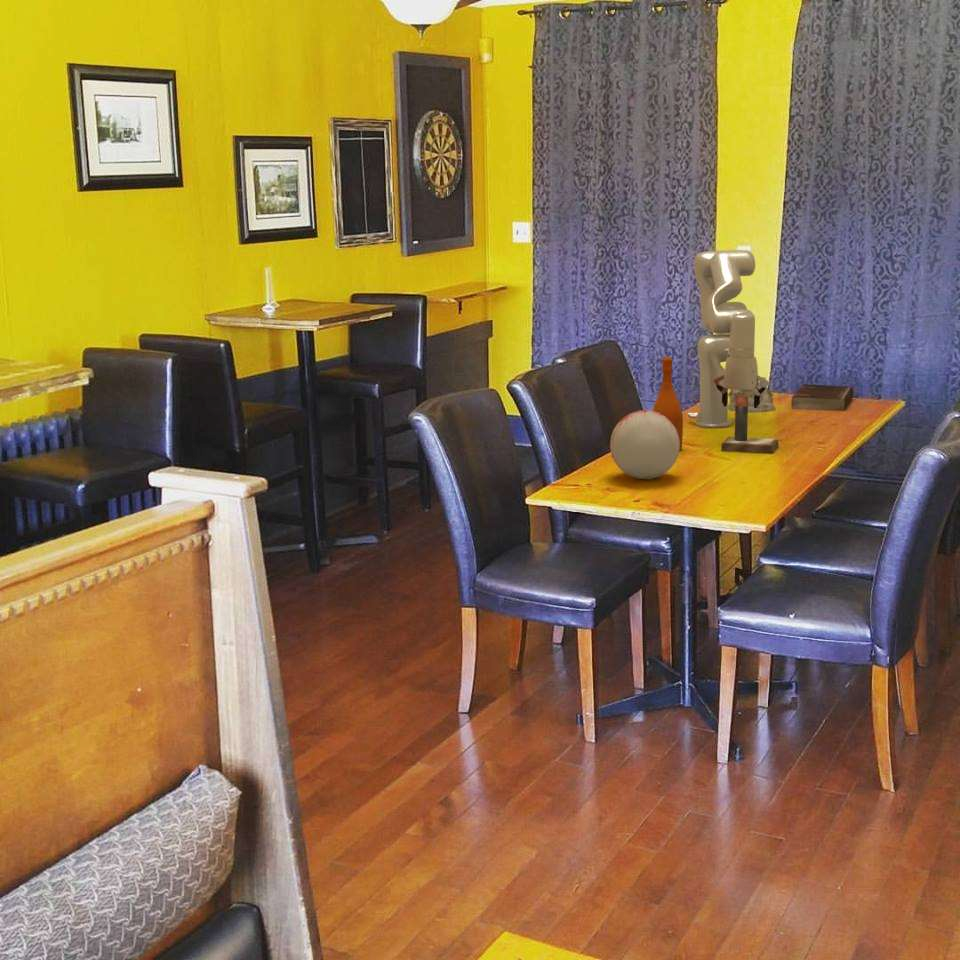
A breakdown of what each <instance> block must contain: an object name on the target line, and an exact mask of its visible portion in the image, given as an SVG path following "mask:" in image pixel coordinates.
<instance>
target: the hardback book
mask: <svg viewBox="0 0 960 960" xmlns="http://www.w3.org/2000/svg"><path fill="white" fill-rule="evenodd" d="M853 398H854V386H846V385H825V384H807V383H805V384H802V386H801V387H800V388H798V390H797V391H796V392H795V393H794V394H793V395H792V396H791V410H801V409H805V411H806V410H807V411H832V412H833V411H835V412H845V410H846V409H847V407H848V405H849V404H850V403H851V401H852V399H853ZM850 400H851V401H850Z"/></svg>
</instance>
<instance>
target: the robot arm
mask: <svg viewBox="0 0 960 960" xmlns="http://www.w3.org/2000/svg"><path fill="white" fill-rule="evenodd" d="M693 271H694V274H695V275H694V276H695V279H696V281H697V284H698V287H699V291H700V317H701V318H700V319H701V326H702V327H703V329H704V330H707V331H711V332H712V333H714V334H706V335H704V336H702V337H700V338H699V339H698V341H697V353H698V359H699V360H698V361H699V374H700V375H699V411H697V412H694V411H693V412H692V411H688V413H687V418H689V419H696V420H695V425H696V426H697V427H701V428H711V429H713V428H715V429H717V428H727V427H730V426H733V421H732V420H731V419H728V411H729V409H728V405H729V395H728V394H729V390H731V389H735V390H753V392H754V393H755V396H754V408H757V407H758V405H760V394H761V393H762V392H763V391H764V390H765V389H766V388H768V386H769V384H770V381H769V380H768V379H764V378H762V377H763V376H760V375H759V372H758V371H759V369H758V360H757V357H756V356H755V343H756V342H755V339H756V338H755V337H756V334H755V333H756V332H755V331H756V317H755V314H754V313H753V311H751V310H750V309H748V308H747V306H746V304H745V303H744V302H741V301H731V300H733V299H736V298H737V297H738V296H740V293H741V292H742V291H743V283H742V280H741V277H750V276H752V275H753V274H754V273H755V271H756V259H755V257H754V254H753V253H752V251H751V250H747V249H730V250H729V249H728V250H710V251H709V250H708V251H702V252H699V253H697V254H696V255H695V257H694V261H693ZM721 363H725V364H724V365H725V366H724V367H725V368H724V367H723V365H722V364H721ZM758 381H759V382H761V383H763V386H762V388H761V389H759V388H758V387H757V386H758Z"/></svg>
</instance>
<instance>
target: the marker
mask: <svg viewBox="0 0 960 960" xmlns="http://www.w3.org/2000/svg"><path fill="white" fill-rule="evenodd" d="M748 417H749V413H748V396H743V395H740V396H735V411H734V436H733V437H734V440H735V441H747V438H748V424H749V421H748V420H749V419H748Z"/></svg>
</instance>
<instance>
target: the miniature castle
mask: <svg viewBox="0 0 960 960" xmlns="http://www.w3.org/2000/svg"><path fill="white" fill-rule="evenodd" d="M761 377H762V378H764V379H766V377H765V376H761ZM766 380H767V379H766ZM762 386H763V383H761V382H759V381H758V386H757V387H758V388H759V389H761V388H762ZM740 395H743V396H748V414H753V413H767V412H769V411H770V412H775V411H776V407H775V404H774V398H773V396H774V394H773V392H771V390H770V389H769V388H768V387H767V388H766V389H765V390H764V391H763V392H762V393H761V394H760V405H758V407H757V408H754V396H755V393H754V392H753V390H735V389H729V391H728V397H729V402H728V411H729V410H730V411H732V410H733V411H732V412H735V396H740Z"/></svg>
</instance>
